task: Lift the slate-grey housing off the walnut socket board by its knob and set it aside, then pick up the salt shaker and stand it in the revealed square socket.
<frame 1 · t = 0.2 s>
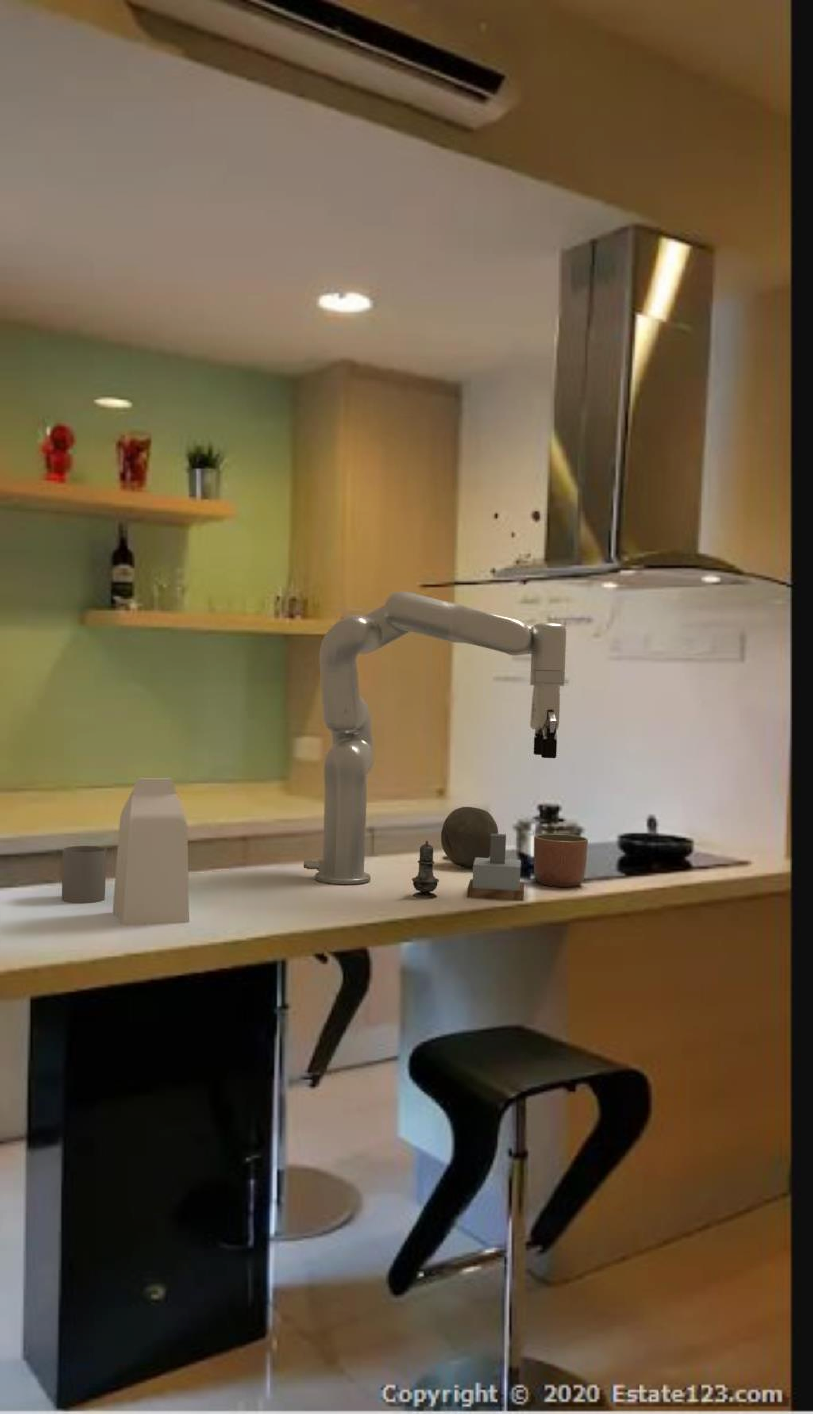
hand: (544, 756, 249), 30 cm above the counter, fingers open, 9 cm apart
cup: (83, 900, 223), on the counter
dark brown ball: (468, 868, 279), on the counter
salt shaker: (424, 897, 240), on the counter
housing: (496, 885, 245), point 2 cm above the counter, touching socket board
socket board: (496, 894, 245), on the counter
milk: (150, 918, 209), on the counter
planter: (558, 885, 260), on the counter
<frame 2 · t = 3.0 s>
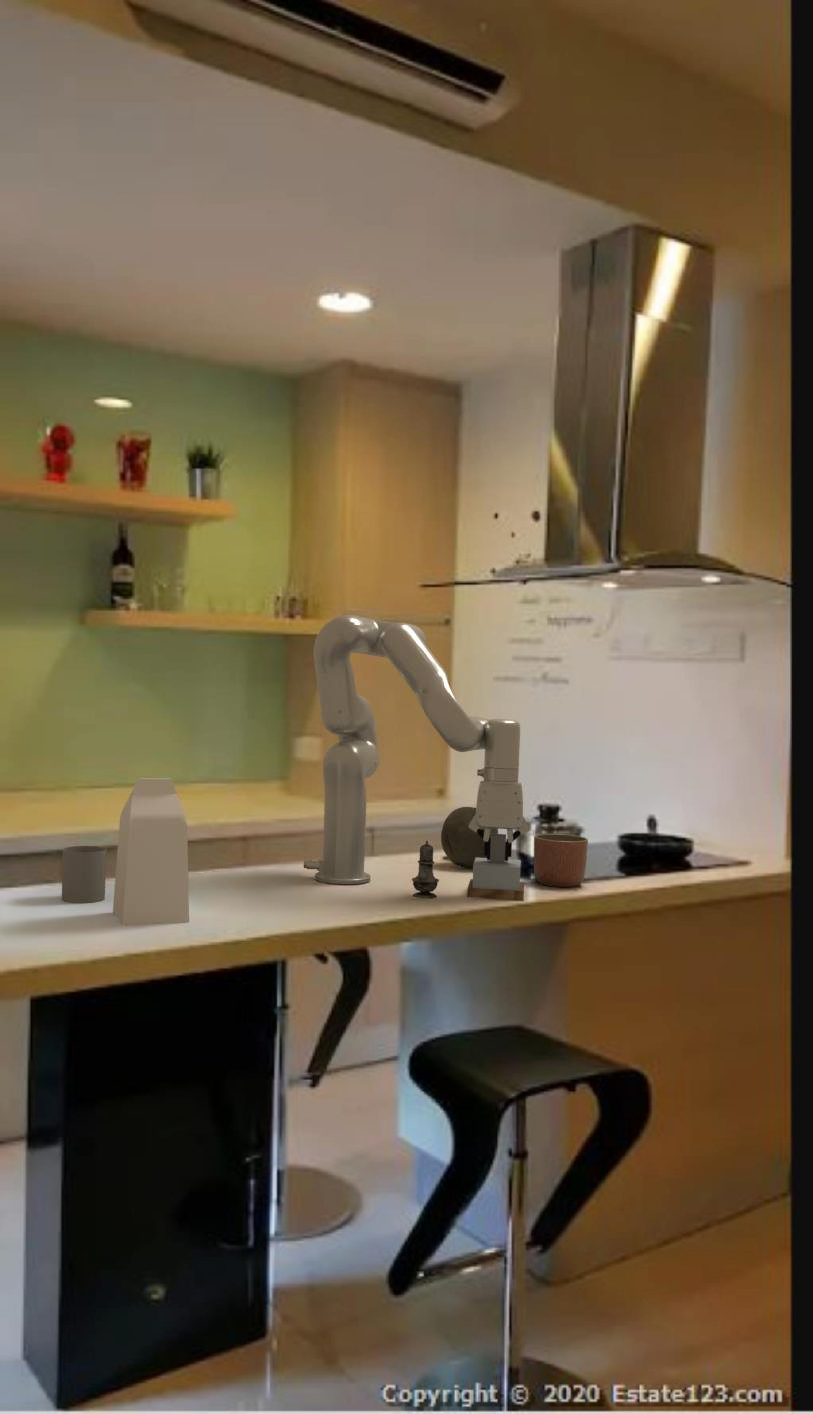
hand: (497, 858, 245), 8 cm above the counter, fingers closed on housing, 3 cm apart
housing: (496, 885, 245), point 2 cm above the counter, touching gripper, socket board
everything else where it was.
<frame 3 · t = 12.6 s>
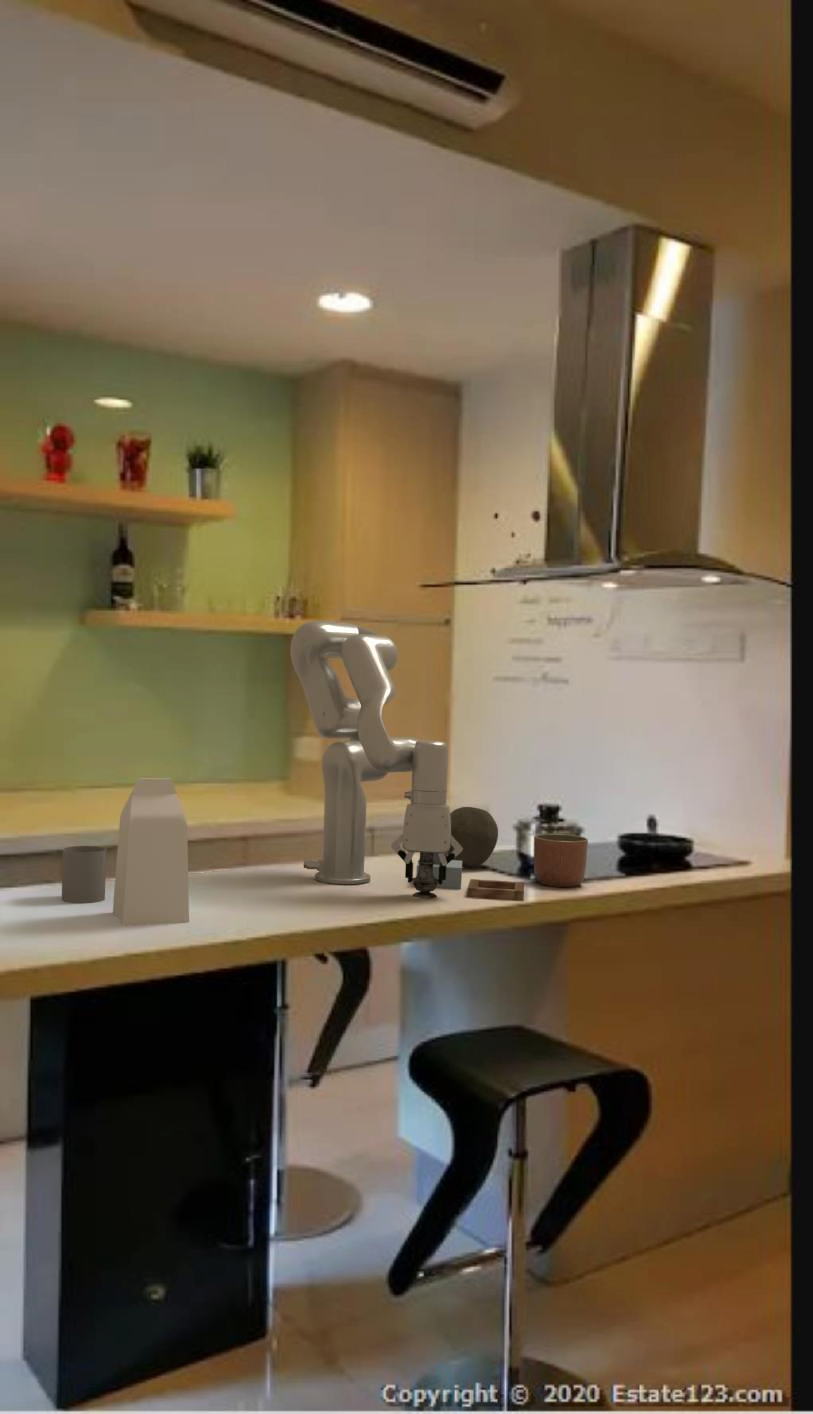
hand: (425, 881, 240), 3 cm above the counter, fingers closed on salt shaker, 5 cm apart
salt shaker: (424, 897, 240), on the counter, touching gripper
housing: (439, 885, 254), on the counter
everything else where it was.
when the fingers open (4 cm above the counter, at t = 18.4 s): salt shaker stays where it is, resting on socket board.
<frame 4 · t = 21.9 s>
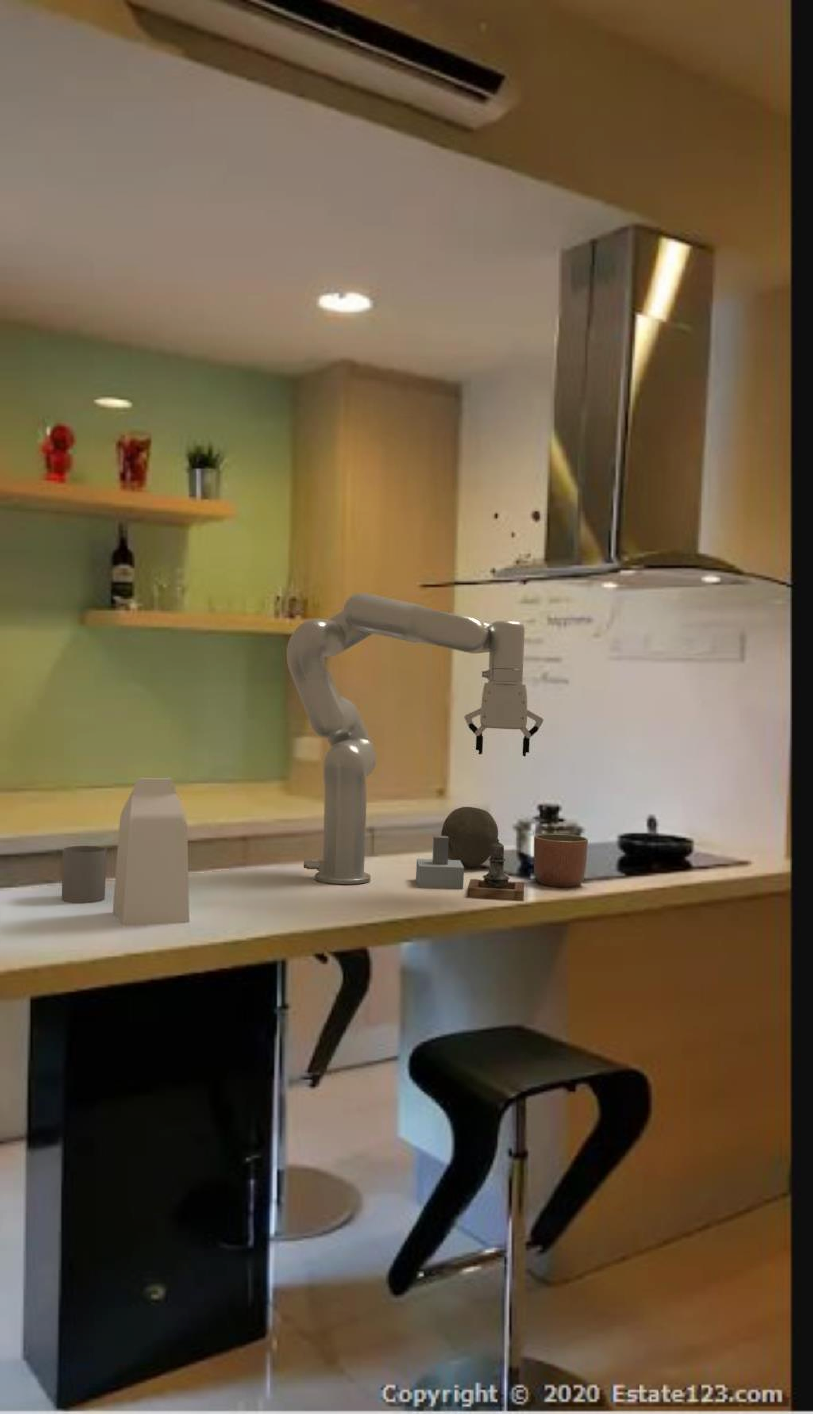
hand: (502, 754, 247), 30 cm above the counter, fingers open, 9 cm apart
salt shaker: (495, 894, 245), resting on socket board
everything else where it was.
at the end: salt shaker 0.2 cm from the socket board (horizontally); salt shaker tilted 0°; housing moved 15.6 cm from its start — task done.
